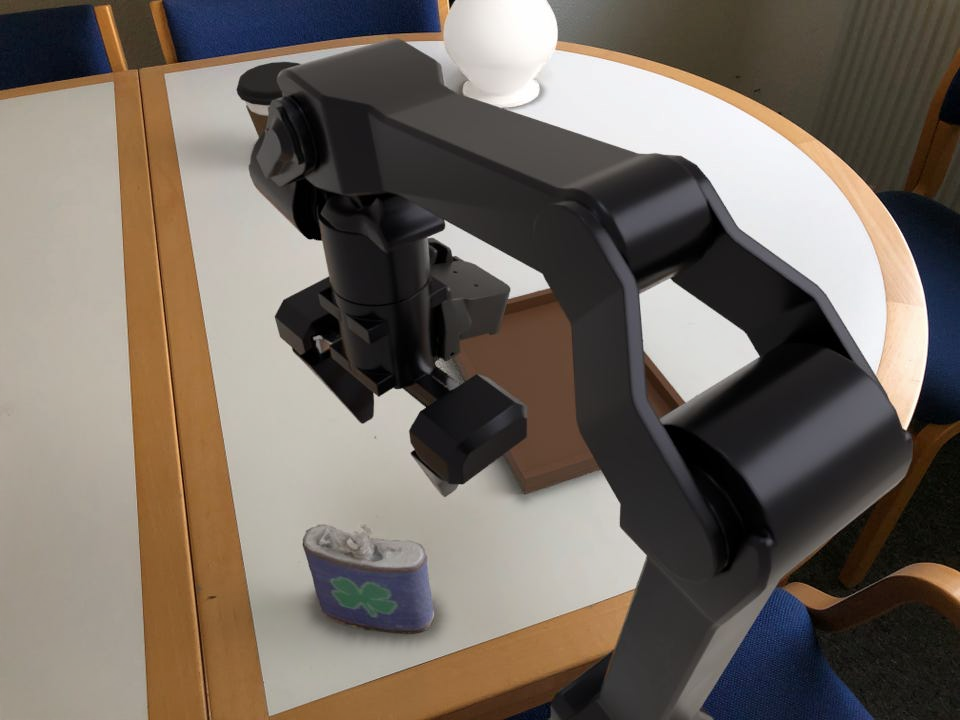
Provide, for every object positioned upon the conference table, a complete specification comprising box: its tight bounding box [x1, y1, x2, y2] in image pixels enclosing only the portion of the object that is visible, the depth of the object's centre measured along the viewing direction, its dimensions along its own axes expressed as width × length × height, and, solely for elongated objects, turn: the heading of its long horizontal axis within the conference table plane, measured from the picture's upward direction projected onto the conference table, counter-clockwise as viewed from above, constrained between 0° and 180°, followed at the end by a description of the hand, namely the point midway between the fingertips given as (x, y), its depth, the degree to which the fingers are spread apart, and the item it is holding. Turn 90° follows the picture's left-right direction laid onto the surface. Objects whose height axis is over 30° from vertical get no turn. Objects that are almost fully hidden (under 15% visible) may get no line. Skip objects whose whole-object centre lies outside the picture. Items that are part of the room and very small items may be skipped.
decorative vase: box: [442, 0, 559, 109], centre depth 121 cm, size 18×18×25 cm
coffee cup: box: [236, 61, 302, 138], centre depth 111 cm, size 11×11×12 cm
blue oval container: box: [302, 524, 435, 635], centre depth 58 cm, size 9×3×11 cm, turn 78°
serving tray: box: [452, 287, 686, 495], centre depth 79 cm, size 24×18×2 cm
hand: (405, 454), depth 56 cm, fingers open, 9 cm apart
